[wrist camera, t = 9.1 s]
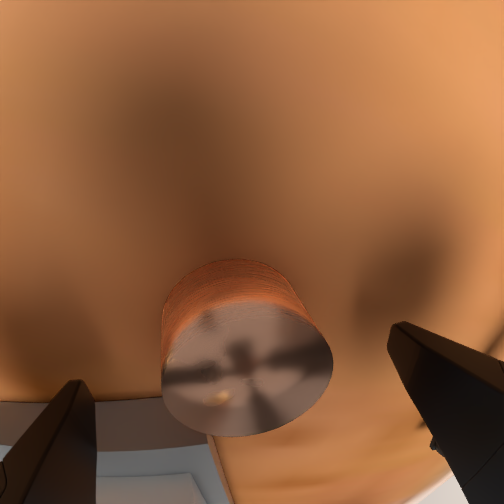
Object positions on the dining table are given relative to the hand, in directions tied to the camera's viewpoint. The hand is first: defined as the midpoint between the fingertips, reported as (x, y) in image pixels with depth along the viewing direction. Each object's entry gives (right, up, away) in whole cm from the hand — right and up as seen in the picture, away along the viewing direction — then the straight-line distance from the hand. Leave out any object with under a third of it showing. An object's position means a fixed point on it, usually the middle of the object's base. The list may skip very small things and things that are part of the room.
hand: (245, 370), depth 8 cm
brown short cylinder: (0, +1, +2) cm, 2 cm away
